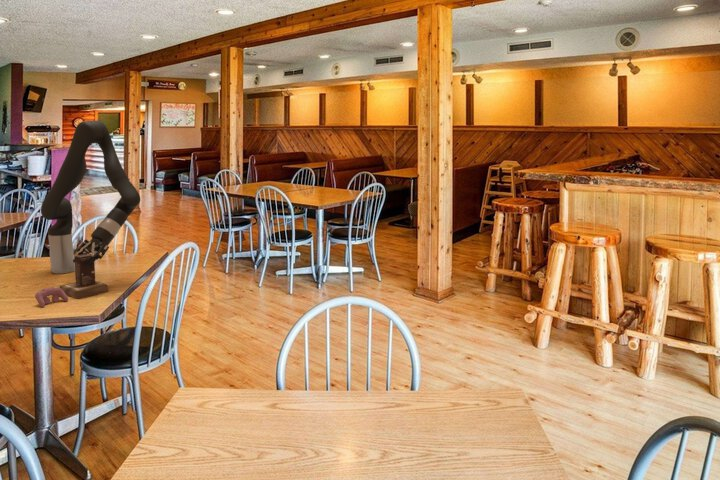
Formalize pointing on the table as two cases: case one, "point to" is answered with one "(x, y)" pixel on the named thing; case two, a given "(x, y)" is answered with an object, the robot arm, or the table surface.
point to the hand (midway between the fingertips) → (81, 264)
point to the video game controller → (53, 291)
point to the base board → (84, 289)
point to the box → (84, 270)
